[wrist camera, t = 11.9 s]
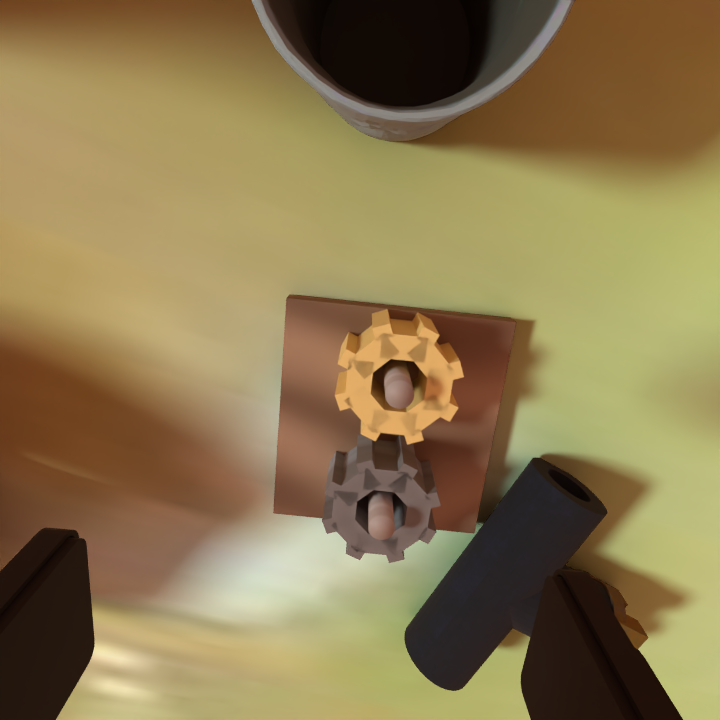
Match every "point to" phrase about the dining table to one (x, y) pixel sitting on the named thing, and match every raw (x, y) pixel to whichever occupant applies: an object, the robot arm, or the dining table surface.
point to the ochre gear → (428, 387)
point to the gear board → (390, 451)
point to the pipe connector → (508, 576)
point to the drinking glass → (410, 55)
